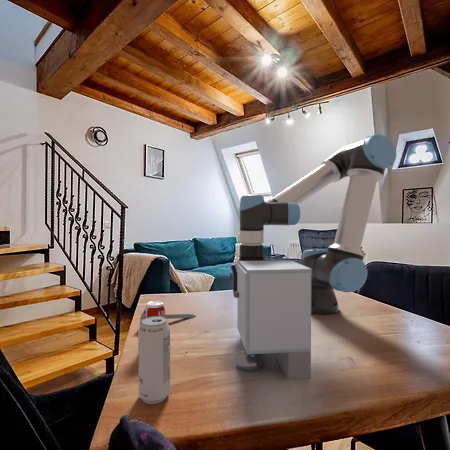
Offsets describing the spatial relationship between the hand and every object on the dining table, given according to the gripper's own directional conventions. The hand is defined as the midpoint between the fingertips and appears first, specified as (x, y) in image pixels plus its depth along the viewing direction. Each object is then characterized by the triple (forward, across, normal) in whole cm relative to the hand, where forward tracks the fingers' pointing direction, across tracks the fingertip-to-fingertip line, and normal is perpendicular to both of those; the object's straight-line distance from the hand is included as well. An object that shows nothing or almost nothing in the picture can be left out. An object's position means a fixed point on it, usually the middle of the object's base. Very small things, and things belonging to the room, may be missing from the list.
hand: (251, 317), depth 90 cm
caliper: (+4, +26, -8) cm, 28 cm away
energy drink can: (+4, +25, +32) cm, 41 cm away
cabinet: (+4, -1, +23) cm, 23 cm away
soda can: (+4, +28, +10) cm, 30 cm away
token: (+4, +5, +22) cm, 23 cm away
